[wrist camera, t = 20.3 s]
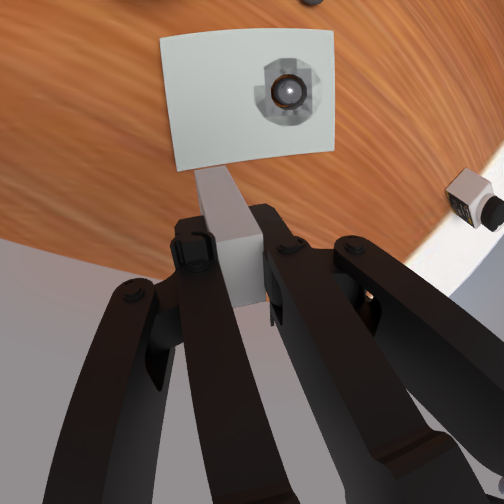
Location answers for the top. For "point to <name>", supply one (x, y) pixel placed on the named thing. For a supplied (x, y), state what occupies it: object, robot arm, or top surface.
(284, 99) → the steel ball
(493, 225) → the medicine bottle
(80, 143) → the top surface
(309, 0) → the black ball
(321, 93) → the board
